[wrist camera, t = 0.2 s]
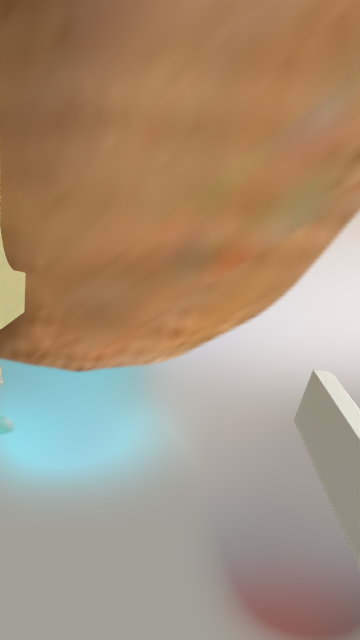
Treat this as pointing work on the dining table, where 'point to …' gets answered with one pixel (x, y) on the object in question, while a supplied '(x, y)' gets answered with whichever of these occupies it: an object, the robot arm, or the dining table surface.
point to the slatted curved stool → (10, 290)
